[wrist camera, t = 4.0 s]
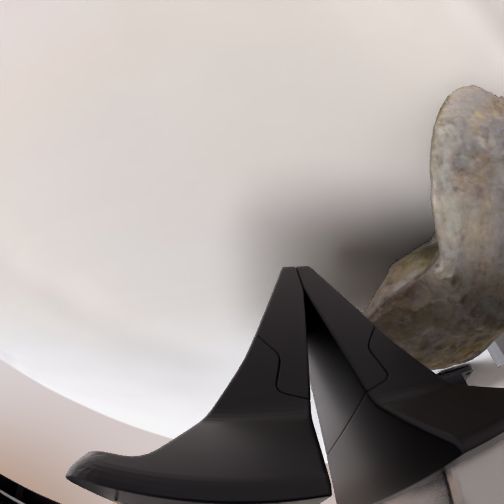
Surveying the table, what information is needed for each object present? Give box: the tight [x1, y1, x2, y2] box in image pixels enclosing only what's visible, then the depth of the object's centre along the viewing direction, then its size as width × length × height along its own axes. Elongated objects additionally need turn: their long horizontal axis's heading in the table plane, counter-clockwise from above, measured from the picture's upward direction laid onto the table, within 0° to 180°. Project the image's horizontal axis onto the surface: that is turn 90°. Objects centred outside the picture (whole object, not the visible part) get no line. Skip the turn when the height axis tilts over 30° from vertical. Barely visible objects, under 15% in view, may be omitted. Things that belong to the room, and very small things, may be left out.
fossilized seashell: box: [363, 85, 504, 370], centre depth 9 cm, size 11×11×7 cm
